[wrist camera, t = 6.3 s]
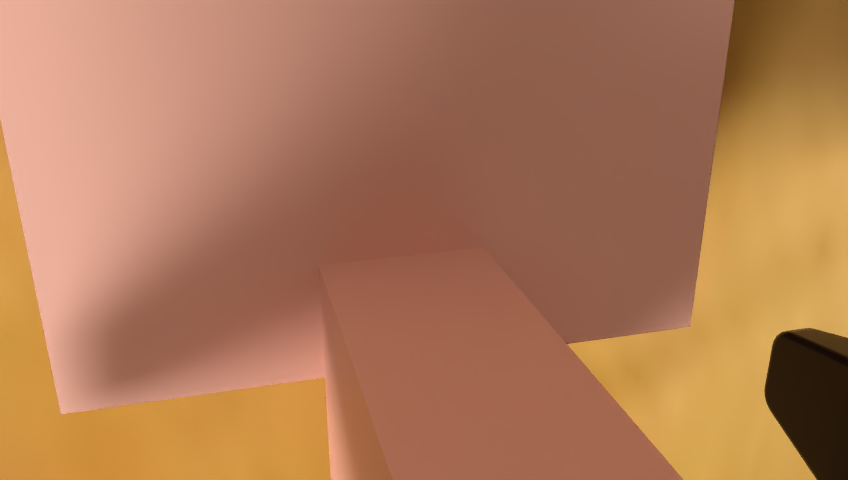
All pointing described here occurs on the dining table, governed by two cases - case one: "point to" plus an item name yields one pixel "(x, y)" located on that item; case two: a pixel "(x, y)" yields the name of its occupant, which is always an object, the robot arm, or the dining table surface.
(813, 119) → the dining table surface
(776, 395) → the robot arm
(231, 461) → the dining table surface
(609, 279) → the pink t-shaped block
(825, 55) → the dining table surface
